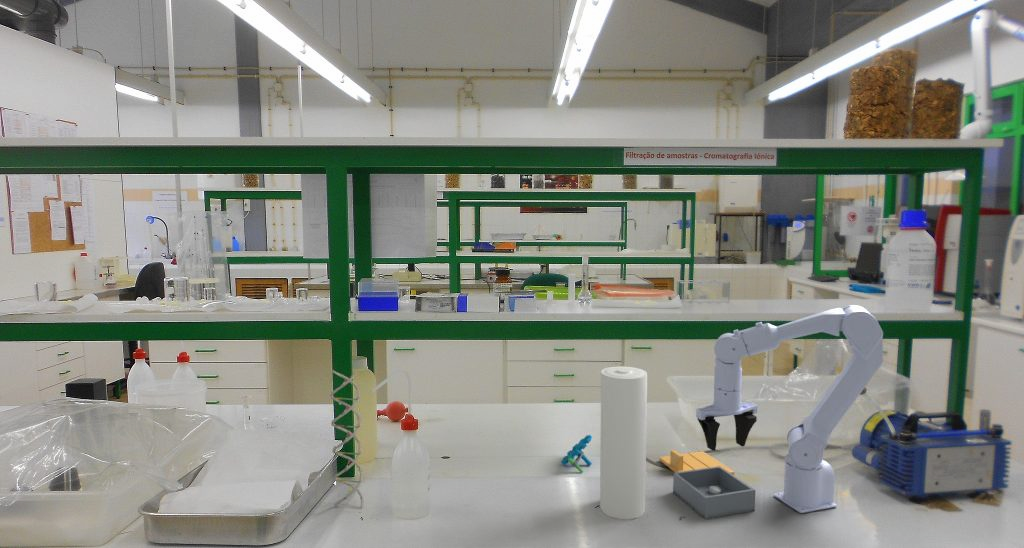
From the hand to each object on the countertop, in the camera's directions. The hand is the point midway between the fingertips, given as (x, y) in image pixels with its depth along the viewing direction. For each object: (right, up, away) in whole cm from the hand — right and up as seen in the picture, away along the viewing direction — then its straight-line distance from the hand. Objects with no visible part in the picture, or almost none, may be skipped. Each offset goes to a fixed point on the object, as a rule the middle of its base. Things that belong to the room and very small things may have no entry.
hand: (725, 446), depth 128 cm
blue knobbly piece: (-32, -9, +14) cm, 36 cm away
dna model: (-83, -11, -6) cm, 84 cm away
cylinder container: (-25, -11, -7) cm, 28 cm away
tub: (-5, -10, -4) cm, 12 cm away
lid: (-3, -9, +11) cm, 15 cm away
